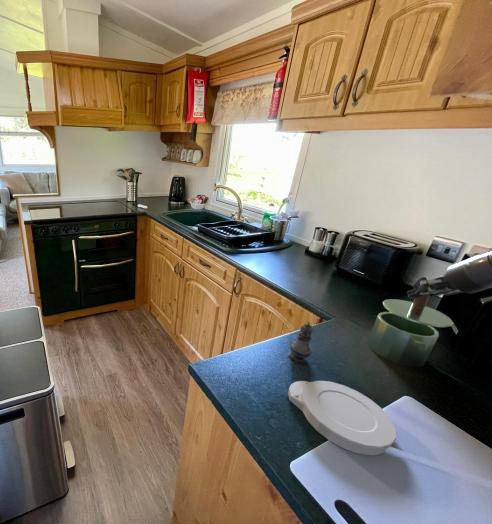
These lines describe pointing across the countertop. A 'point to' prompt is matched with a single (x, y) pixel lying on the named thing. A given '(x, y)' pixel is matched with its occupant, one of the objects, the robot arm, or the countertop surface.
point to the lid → (344, 416)
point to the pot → (402, 340)
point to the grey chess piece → (301, 345)
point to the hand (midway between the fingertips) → (414, 295)
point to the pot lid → (418, 311)
